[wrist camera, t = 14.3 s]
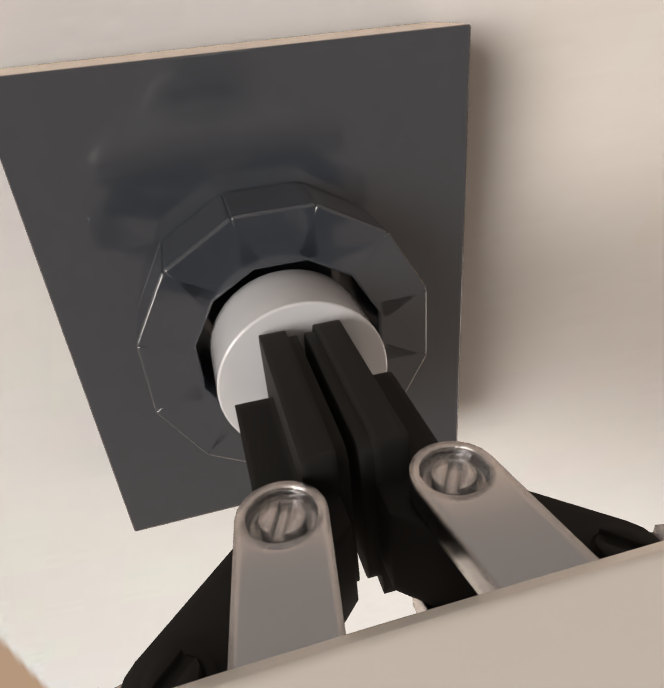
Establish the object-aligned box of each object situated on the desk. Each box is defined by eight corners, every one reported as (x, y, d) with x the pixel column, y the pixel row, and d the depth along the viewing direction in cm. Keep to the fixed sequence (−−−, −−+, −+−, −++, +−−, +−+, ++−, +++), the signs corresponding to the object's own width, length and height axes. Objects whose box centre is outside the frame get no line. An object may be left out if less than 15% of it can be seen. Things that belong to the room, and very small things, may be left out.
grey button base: (-4, 68, 13) (-61, 90, 9) (431, 21, 15) (515, 26, 11) (136, 481, 19) (132, 584, 16) (430, 412, 21) (484, 491, 17)
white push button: (195, 284, 12) (200, 321, 11) (359, 255, 13) (385, 286, 12) (224, 419, 14) (233, 467, 13) (367, 388, 15) (391, 430, 13)
